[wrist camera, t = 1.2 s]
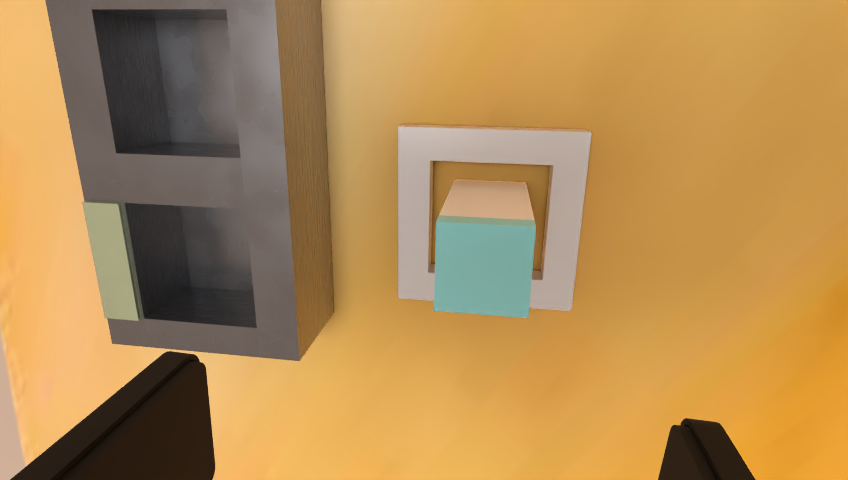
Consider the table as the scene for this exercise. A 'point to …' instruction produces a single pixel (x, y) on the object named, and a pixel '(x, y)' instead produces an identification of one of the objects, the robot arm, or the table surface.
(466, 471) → the table surface
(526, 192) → the plug
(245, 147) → the port block
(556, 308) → the white square frame
